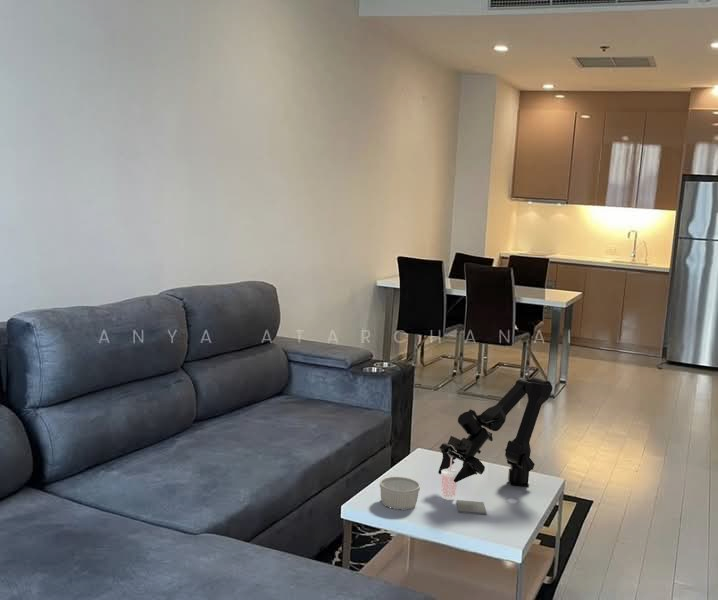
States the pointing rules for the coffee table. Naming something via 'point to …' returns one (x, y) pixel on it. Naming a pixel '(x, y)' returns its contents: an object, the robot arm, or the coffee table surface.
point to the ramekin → (399, 492)
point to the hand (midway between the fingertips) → (446, 477)
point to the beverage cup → (449, 483)
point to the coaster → (471, 507)
